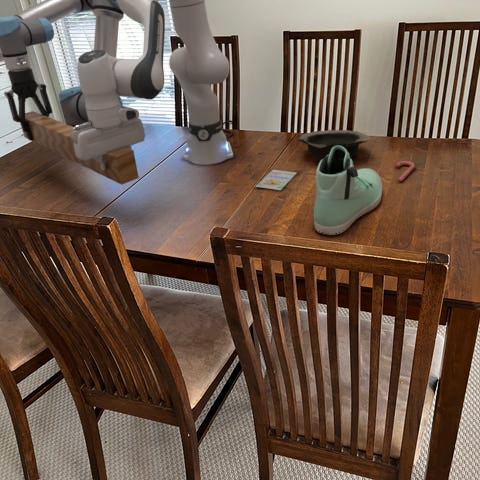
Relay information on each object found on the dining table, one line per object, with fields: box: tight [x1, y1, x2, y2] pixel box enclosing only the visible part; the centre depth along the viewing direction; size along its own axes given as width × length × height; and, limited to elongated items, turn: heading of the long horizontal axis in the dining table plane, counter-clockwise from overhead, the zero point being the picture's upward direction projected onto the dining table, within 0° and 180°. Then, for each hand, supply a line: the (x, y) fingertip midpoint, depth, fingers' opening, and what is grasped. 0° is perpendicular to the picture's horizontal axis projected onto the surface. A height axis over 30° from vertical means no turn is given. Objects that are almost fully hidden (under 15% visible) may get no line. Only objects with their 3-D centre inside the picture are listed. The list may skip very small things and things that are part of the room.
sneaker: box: [313, 146, 383, 236], centre depth 133 cm, size 14×35×20 cm, turn 152°
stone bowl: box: [297, 129, 371, 164], centre depth 171 cm, size 25×25×9 cm
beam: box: [18, 110, 140, 185], centre depth 150 cm, size 65×6×8 cm, turn 44°
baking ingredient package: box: [255, 169, 297, 191], centre depth 159 cm, size 9×1×15 cm
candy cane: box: [395, 160, 416, 183], centre depth 157 cm, size 6×15×2 cm, turn 145°
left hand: (39, 137), depth 168 cm, fingers closed on beam, 6 cm apart
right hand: (115, 165), depth 134 cm, fingers closed on beam, 5 cm apart
